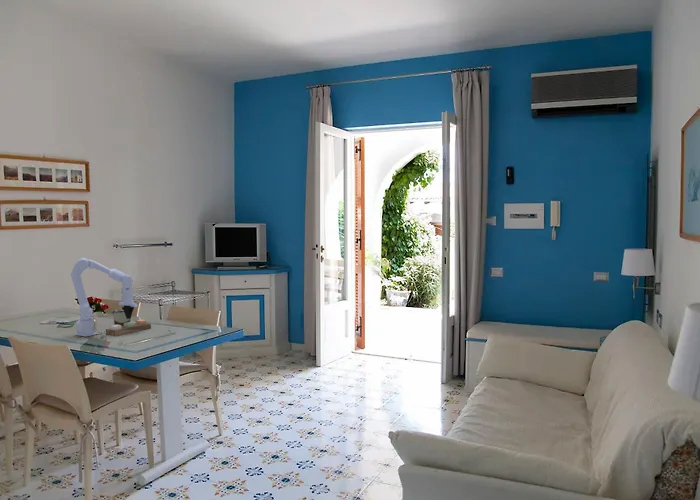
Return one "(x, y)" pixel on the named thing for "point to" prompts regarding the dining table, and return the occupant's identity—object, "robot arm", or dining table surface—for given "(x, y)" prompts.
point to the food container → (119, 317)
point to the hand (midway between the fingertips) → (128, 318)
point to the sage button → (128, 324)
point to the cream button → (115, 327)
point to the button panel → (128, 329)
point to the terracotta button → (141, 322)
